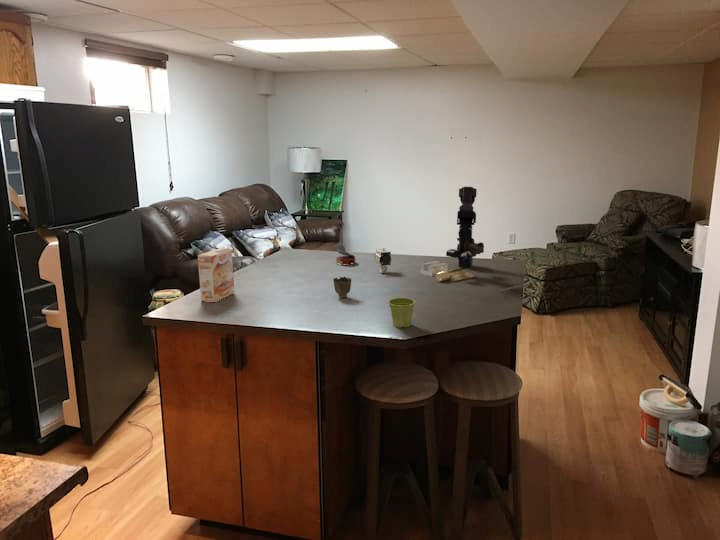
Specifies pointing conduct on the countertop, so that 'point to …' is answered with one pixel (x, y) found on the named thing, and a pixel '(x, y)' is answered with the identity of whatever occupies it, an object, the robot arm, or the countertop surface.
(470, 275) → the beam
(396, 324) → the plant pot
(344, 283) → the cup
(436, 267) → the cradle
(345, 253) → the canned food
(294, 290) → the countertop surface
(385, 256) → the pneumatic valve
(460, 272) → the axle
